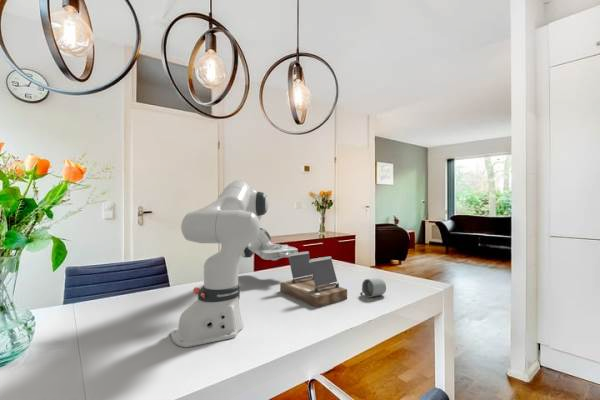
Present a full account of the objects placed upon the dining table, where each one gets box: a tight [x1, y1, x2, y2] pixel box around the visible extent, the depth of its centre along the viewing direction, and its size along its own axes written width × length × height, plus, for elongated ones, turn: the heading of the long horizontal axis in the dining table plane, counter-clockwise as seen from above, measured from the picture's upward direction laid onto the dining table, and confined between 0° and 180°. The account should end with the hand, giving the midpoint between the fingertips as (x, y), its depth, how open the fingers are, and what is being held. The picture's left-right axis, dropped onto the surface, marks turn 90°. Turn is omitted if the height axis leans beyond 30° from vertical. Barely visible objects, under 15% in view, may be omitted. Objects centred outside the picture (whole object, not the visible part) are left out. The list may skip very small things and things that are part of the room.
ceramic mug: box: [361, 278, 387, 298], centre depth 133 cm, size 11×8×8 cm
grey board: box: [287, 250, 312, 279], centre depth 143 cm, size 11×2×11 cm, turn 127°
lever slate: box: [309, 256, 338, 287], centre depth 130 cm, size 11×2×11 cm, turn 127°
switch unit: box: [279, 275, 348, 308], centre depth 133 cm, size 17×26×6 cm, turn 37°
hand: (288, 255), depth 151 cm, fingers closed
